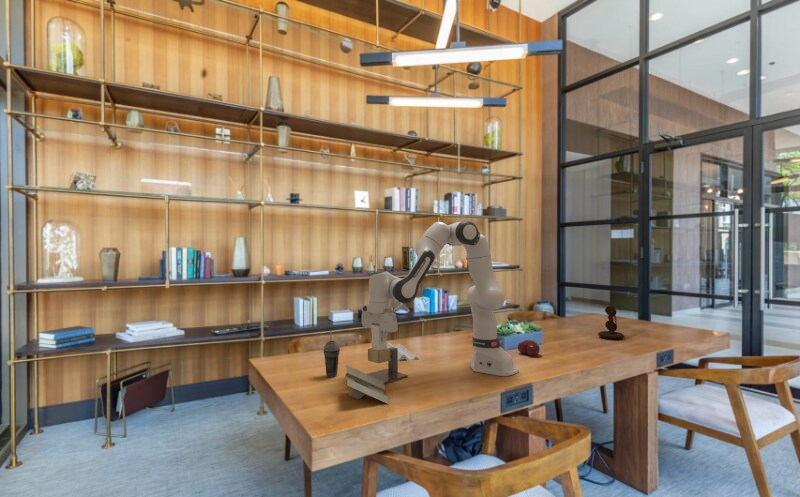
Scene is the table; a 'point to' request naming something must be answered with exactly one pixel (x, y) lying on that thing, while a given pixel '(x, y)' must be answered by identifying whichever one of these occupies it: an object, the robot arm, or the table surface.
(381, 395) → the grey grooved block
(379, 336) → the rail end
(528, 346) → the heart
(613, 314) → the dark figurine
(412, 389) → the table surface
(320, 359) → the table surface
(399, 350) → the crown molding
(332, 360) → the dark travel mug
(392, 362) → the bracket
